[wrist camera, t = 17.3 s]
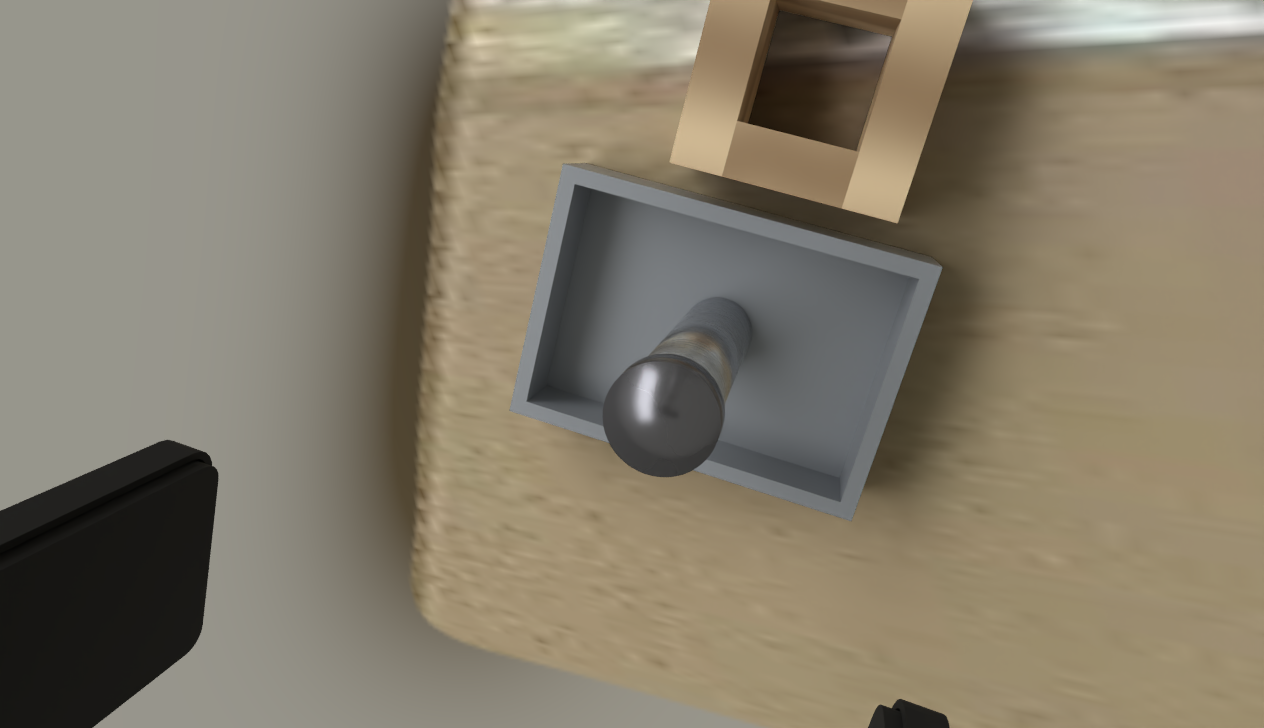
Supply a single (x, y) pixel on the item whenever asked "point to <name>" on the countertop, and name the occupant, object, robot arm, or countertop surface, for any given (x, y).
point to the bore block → (853, 180)
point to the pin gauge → (679, 391)
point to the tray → (775, 303)
